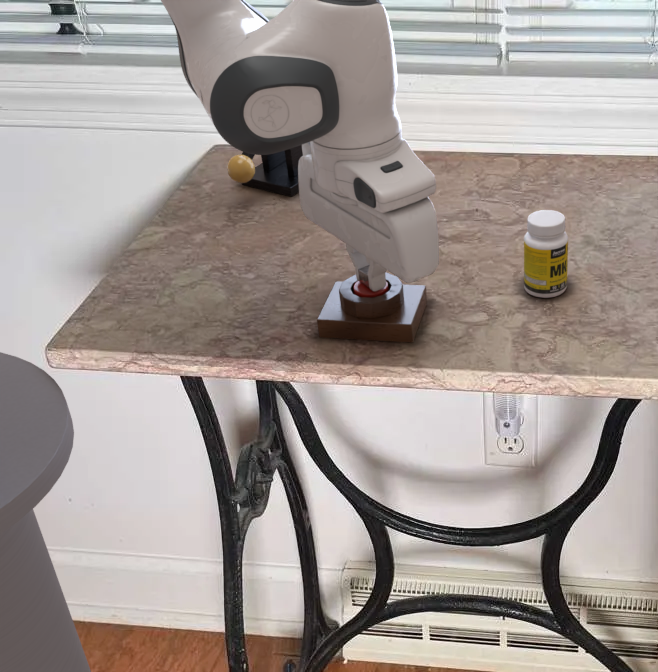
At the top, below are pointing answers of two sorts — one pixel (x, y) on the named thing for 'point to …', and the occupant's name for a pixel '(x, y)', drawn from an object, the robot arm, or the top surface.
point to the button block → (373, 312)
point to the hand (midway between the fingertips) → (371, 284)
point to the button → (368, 290)
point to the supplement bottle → (545, 254)
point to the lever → (241, 167)
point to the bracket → (278, 172)
